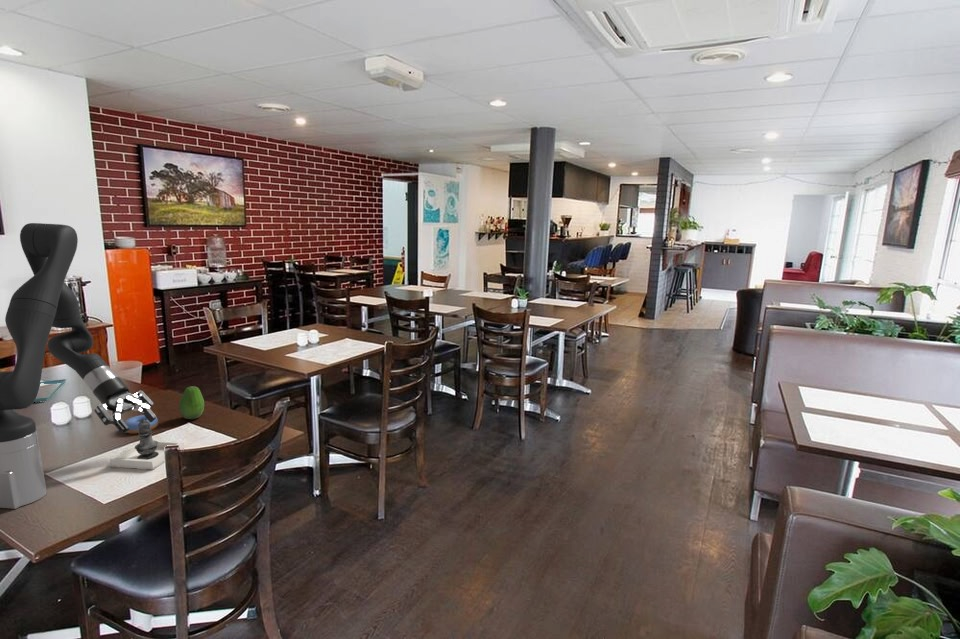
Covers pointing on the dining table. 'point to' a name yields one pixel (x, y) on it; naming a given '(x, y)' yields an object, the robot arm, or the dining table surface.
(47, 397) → the shallow long dish
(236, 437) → the dining table surface
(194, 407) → the avocado
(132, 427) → the doughnut
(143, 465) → the ceramic dish
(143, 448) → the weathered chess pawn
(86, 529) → the dining table surface
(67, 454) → the dining table surface
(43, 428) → the dining table surface
